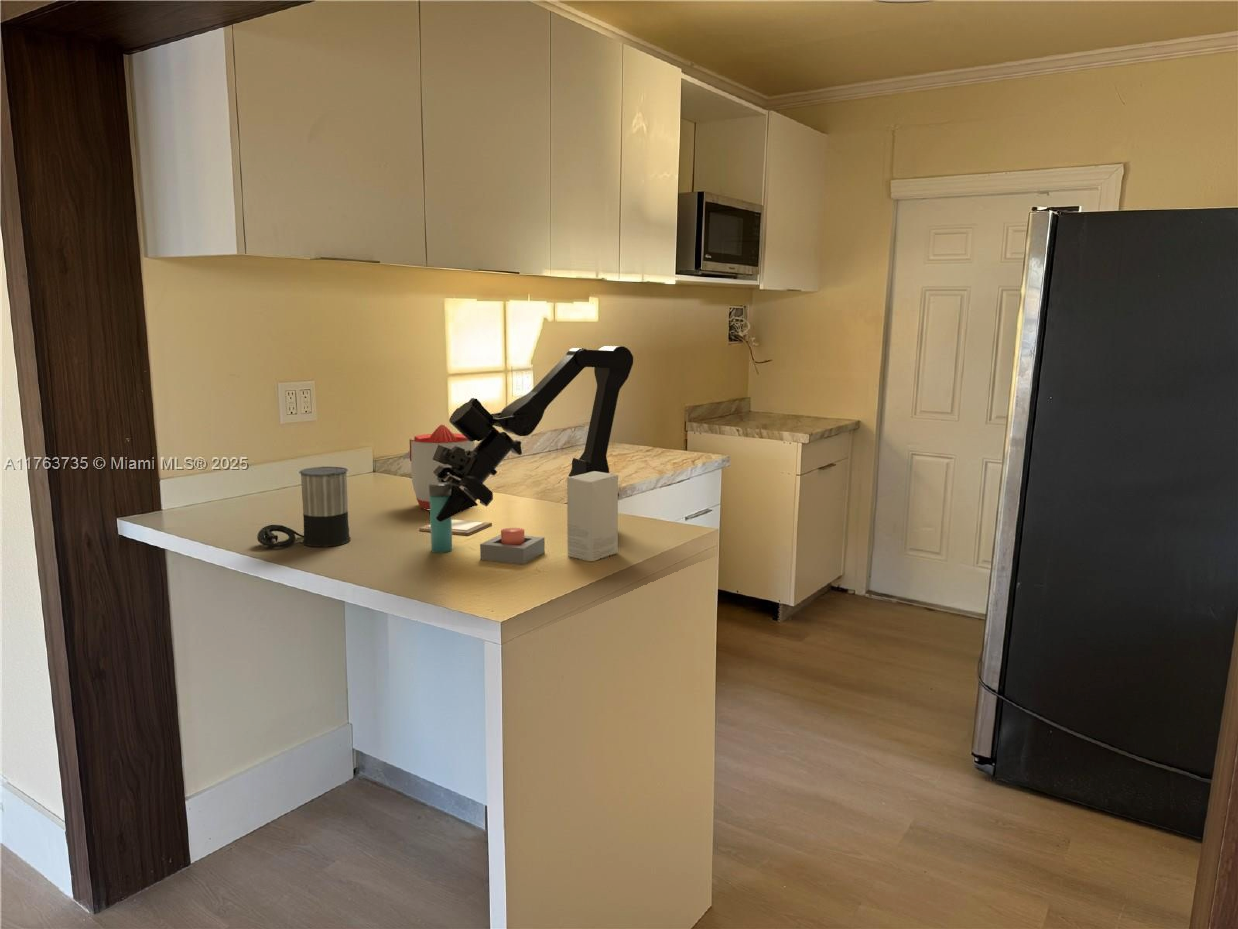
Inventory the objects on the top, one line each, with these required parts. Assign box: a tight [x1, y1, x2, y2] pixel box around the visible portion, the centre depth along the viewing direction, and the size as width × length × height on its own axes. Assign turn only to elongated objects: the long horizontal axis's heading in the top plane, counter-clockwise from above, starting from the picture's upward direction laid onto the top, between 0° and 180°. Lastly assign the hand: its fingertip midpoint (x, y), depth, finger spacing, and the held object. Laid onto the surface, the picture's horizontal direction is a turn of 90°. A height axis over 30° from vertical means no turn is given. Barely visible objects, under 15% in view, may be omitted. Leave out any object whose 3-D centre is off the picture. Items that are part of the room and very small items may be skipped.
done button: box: [500, 527, 525, 546], centre depth 161 cm, size 4×4×3 cm
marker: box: [429, 483, 453, 554], centre depth 165 cm, size 4×4×13 cm
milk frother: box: [256, 465, 352, 548], centre depth 169 cm, size 14×16×15 cm
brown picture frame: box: [418, 518, 493, 537], centre depth 184 cm, size 12×10×1 cm
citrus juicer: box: [402, 424, 476, 510], centre depth 204 cm, size 16×17×20 cm
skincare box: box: [566, 471, 619, 562], centre depth 161 cm, size 8×7×16 cm
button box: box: [479, 533, 546, 565], centre depth 162 cm, size 9×9×3 cm
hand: (433, 517), depth 164 cm, fingers open, 4 cm apart
